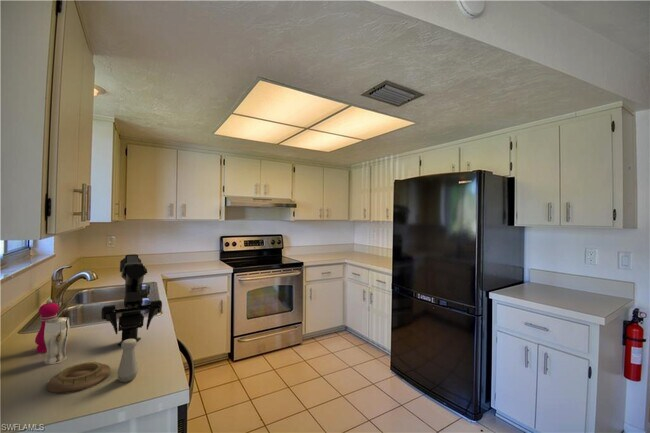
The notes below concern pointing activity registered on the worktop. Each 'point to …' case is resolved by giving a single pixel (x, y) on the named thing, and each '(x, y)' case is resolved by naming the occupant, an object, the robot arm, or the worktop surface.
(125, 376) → the salt shaker
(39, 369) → the worktop surface
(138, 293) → the robot arm
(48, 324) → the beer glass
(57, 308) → the pepper mill
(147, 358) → the worktop surface
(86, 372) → the ring tray
